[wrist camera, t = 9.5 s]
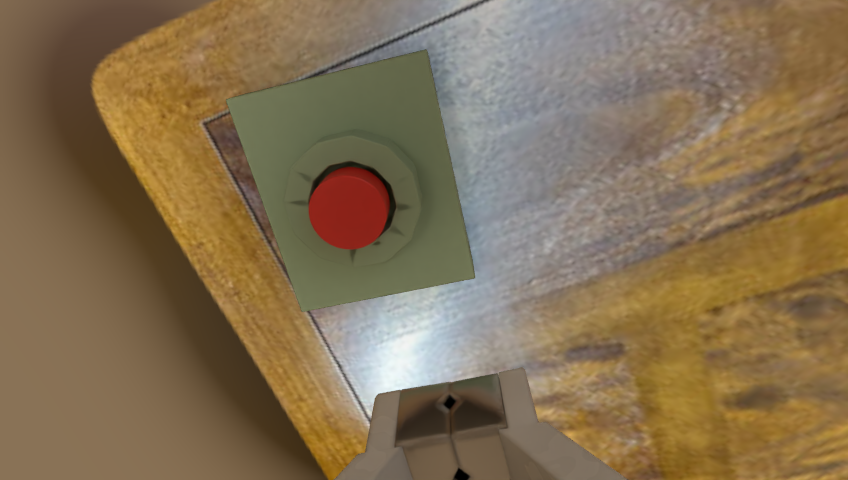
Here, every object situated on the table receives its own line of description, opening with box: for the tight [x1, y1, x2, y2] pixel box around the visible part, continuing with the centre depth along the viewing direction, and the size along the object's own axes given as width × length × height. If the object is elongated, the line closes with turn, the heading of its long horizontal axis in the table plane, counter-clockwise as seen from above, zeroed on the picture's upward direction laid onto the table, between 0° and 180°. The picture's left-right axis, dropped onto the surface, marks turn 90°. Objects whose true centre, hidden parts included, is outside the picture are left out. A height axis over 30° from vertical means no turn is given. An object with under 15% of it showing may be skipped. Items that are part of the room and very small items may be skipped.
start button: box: [309, 167, 390, 249], centre depth 24 cm, size 4×4×2 cm
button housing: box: [226, 49, 475, 312], centre depth 27 cm, size 12×10×4 cm
